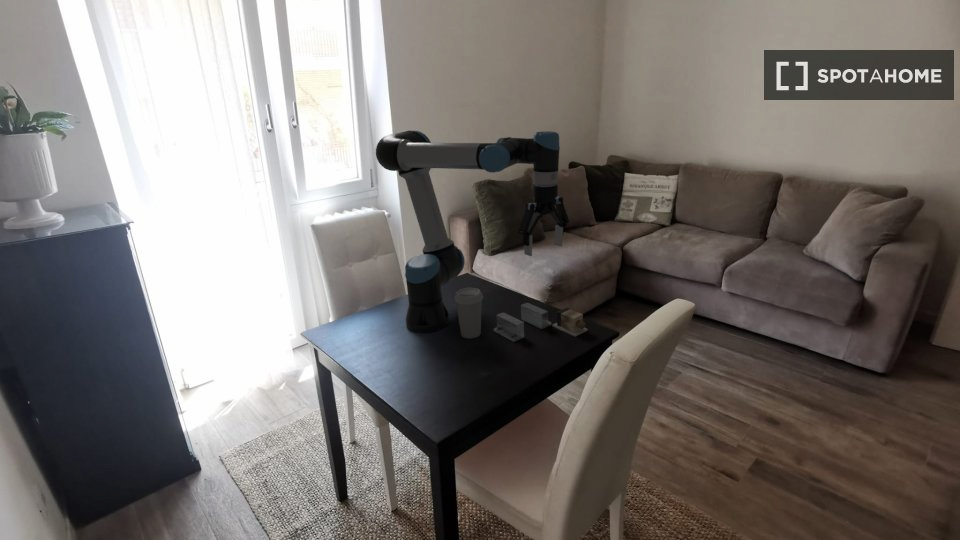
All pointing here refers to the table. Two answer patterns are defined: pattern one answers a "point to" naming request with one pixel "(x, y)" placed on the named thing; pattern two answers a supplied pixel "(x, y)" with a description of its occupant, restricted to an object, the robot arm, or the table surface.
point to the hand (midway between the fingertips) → (543, 250)
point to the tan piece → (570, 320)
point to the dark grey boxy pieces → (521, 322)
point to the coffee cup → (469, 311)
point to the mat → (570, 331)
